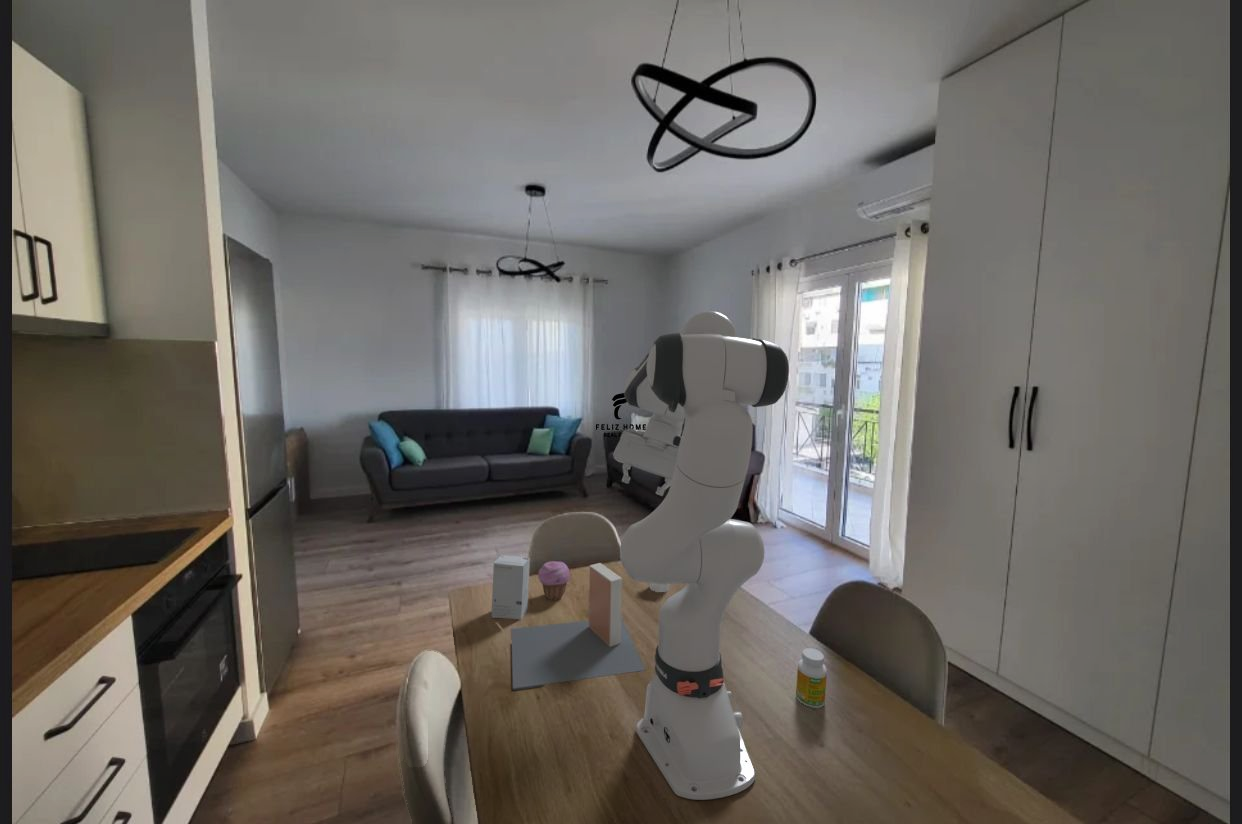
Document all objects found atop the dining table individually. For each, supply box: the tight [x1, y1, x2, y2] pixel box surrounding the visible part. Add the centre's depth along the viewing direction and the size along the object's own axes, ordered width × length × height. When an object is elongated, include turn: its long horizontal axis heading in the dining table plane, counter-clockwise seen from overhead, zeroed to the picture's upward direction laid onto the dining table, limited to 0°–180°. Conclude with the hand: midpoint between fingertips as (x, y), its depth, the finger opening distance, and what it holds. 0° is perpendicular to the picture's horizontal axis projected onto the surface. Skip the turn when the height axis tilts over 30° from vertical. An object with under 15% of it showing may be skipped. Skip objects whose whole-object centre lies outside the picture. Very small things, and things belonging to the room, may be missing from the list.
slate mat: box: [511, 616, 646, 691], centre depth 110 cm, size 22×28×1 cm
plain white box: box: [588, 562, 623, 647], centre depth 115 cm, size 3×10×16 cm, turn 33°
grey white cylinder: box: [649, 583, 671, 593], centre depth 141 cm, size 7×7×7 cm
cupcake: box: [538, 561, 571, 601], centre depth 135 cm, size 9×9×10 cm
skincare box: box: [491, 554, 531, 621], centre depth 125 cm, size 8×6×15 cm
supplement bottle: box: [795, 647, 828, 709], centre depth 95 cm, size 5×5×10 cm
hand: (641, 488), depth 118 cm, fingers open, 8 cm apart
